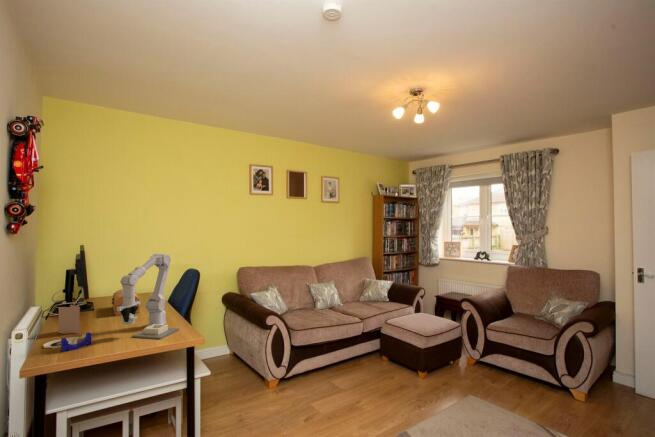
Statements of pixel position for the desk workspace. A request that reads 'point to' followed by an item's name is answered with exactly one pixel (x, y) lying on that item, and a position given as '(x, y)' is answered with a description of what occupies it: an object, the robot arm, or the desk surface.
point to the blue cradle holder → (69, 347)
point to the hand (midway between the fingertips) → (128, 320)
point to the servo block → (131, 319)
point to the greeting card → (69, 319)
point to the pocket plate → (155, 332)
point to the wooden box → (121, 301)
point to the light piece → (70, 341)
